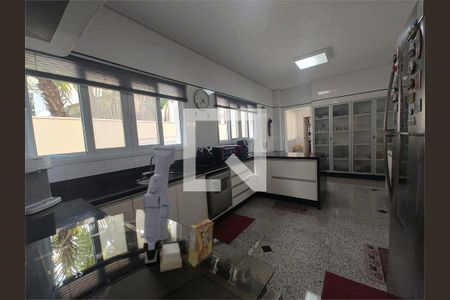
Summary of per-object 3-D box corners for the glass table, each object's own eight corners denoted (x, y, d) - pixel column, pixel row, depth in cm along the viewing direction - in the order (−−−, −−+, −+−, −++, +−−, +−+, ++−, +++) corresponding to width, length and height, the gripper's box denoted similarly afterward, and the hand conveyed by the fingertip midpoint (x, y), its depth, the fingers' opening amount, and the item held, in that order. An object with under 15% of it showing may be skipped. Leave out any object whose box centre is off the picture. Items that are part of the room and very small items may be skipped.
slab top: (162, 252, 69) (162, 245, 68) (177, 249, 71) (177, 242, 71) (162, 262, 63) (163, 255, 63) (179, 259, 65) (179, 252, 65)
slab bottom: (160, 258, 69) (160, 251, 69) (178, 254, 72) (179, 248, 72) (160, 272, 62) (160, 264, 62) (181, 268, 65) (181, 260, 65)
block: (145, 256, 69) (146, 247, 69) (156, 254, 71) (156, 245, 70) (145, 263, 66) (145, 253, 65) (156, 261, 67) (156, 251, 67)
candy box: (204, 251, 74) (207, 218, 73) (211, 257, 72) (213, 222, 70) (187, 261, 68) (190, 225, 67) (194, 268, 65) (196, 229, 64)
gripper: (142, 215, 72) (141, 245, 73) (139, 234, 59) (138, 271, 60) (160, 213, 75) (158, 242, 76) (161, 231, 61) (159, 267, 63)
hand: (151, 255), depth 68 cm, fingers closed on block, 4 cm apart
